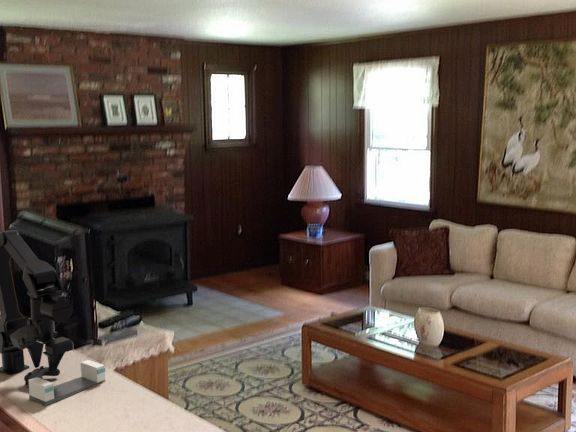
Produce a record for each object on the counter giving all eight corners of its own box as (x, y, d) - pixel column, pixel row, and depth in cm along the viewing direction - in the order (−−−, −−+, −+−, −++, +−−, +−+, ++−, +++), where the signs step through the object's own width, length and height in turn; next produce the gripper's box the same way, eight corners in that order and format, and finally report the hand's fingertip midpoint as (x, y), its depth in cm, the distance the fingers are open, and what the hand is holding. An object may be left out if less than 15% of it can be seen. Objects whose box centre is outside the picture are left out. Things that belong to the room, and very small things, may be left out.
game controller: (44, 384, 181) (27, 369, 181) (33, 398, 182) (16, 383, 182) (62, 370, 190) (46, 356, 190) (52, 384, 191) (35, 370, 192)
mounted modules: (29, 395, 176) (28, 379, 175) (88, 373, 190) (88, 359, 189) (46, 402, 171) (45, 386, 171) (105, 379, 185) (105, 365, 185)
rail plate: (29, 398, 176) (29, 395, 176) (89, 377, 190) (89, 373, 190) (45, 405, 172) (45, 401, 171) (105, 383, 186) (105, 379, 185)
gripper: (-6, 313, 183) (-3, 370, 186) (35, 328, 172) (37, 389, 174) (33, 304, 192) (35, 359, 194) (74, 318, 180) (75, 376, 183)
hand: (44, 370), depth 186 cm, fingers open, 7 cm apart
